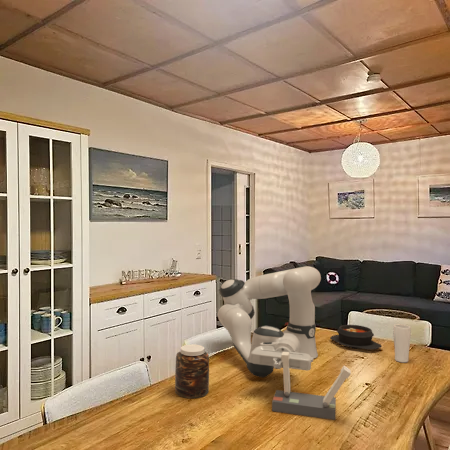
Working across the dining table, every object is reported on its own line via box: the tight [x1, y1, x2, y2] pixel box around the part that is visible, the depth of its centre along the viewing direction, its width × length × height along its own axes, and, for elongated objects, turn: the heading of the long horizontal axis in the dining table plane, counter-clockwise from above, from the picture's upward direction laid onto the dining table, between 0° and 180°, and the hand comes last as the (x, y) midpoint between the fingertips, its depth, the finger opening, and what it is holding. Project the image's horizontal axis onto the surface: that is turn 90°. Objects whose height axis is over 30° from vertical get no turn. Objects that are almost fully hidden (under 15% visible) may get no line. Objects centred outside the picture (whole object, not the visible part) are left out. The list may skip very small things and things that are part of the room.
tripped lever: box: [281, 352, 292, 397], centre depth 130 cm, size 4×2×13 cm, turn 164°
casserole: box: [330, 324, 382, 351], centre depth 195 cm, size 25×19×8 cm
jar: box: [174, 343, 210, 399], centre depth 139 cm, size 12×12×15 cm
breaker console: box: [271, 389, 337, 421], centre depth 127 cm, size 9×19×3 cm, turn 74°
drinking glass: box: [393, 323, 412, 364], centre depth 173 cm, size 7×7×15 cm
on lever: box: [323, 365, 352, 407], centre depth 122 cm, size 4×2×13 cm
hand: (277, 366), depth 129 cm, fingers closed
